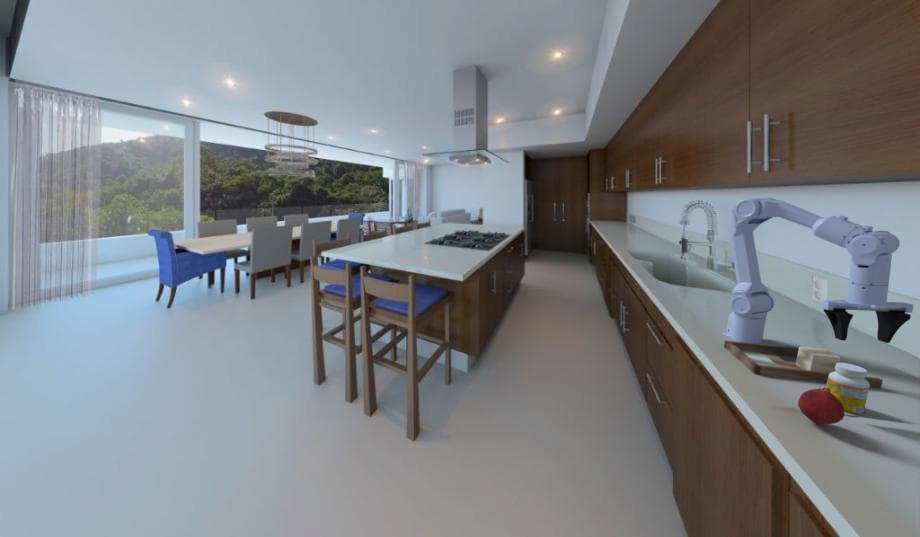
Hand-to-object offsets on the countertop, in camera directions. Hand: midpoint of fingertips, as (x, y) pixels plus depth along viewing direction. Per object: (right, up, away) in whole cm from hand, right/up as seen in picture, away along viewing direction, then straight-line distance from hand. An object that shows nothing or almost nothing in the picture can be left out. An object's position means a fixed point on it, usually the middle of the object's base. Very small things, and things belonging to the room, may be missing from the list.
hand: (861, 340), depth 75 cm
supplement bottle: (-16, -13, -9) cm, 23 cm away
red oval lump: (-26, -13, -14) cm, 32 cm away
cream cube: (-6, -9, +4) cm, 11 cm away
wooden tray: (-10, -9, +7) cm, 15 cm away
